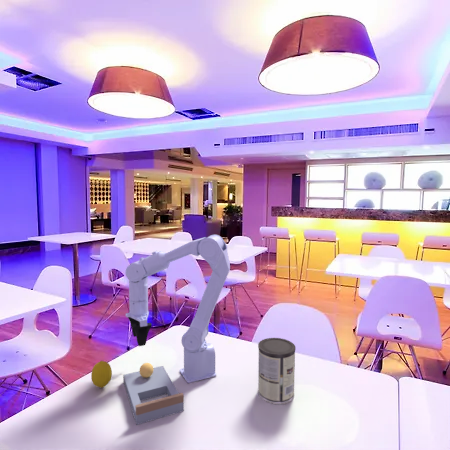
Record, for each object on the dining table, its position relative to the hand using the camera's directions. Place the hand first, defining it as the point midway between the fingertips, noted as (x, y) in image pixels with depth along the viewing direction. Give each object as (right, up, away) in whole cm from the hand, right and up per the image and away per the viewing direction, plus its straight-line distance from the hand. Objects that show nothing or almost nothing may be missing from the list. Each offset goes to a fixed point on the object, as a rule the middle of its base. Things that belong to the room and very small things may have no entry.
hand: (139, 340), depth 103 cm
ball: (+4, -8, -8) cm, 12 cm away
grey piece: (+7, -11, -14) cm, 19 cm away
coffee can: (+42, -11, -12) cm, 45 cm away
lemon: (-8, -10, -10) cm, 16 cm away
